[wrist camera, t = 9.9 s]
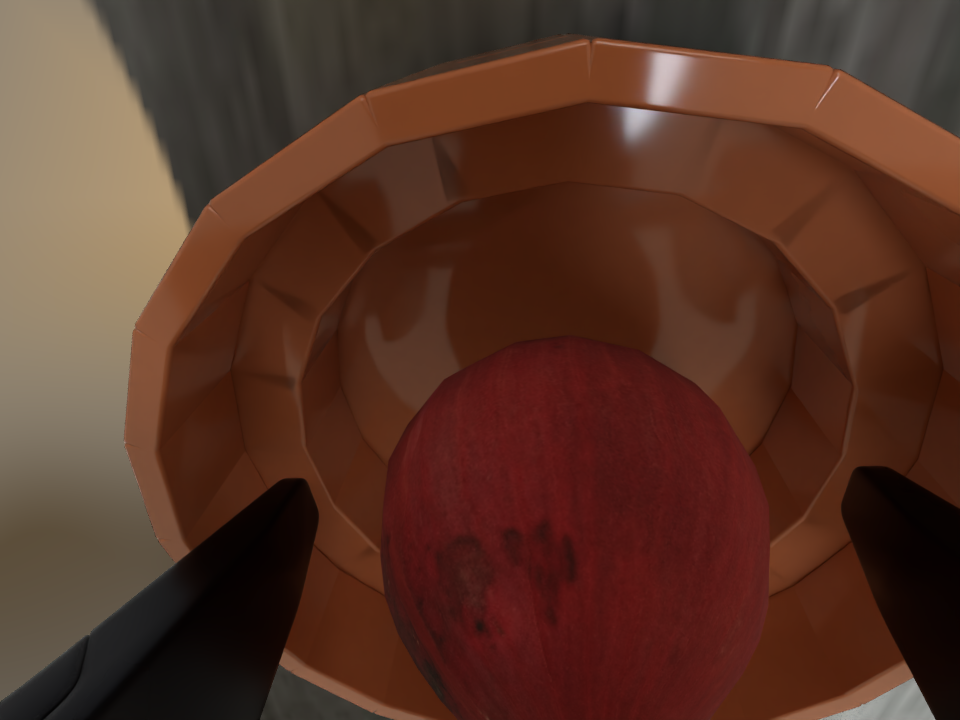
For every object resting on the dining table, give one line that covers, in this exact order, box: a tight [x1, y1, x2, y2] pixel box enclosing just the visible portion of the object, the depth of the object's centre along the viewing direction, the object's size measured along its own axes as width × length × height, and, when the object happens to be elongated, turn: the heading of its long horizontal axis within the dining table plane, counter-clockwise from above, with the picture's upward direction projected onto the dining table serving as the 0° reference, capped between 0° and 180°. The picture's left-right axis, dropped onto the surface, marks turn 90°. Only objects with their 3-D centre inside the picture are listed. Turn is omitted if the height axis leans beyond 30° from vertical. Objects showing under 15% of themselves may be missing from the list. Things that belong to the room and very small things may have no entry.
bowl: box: [124, 33, 960, 720], centre depth 10 cm, size 13×13×5 cm
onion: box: [380, 335, 770, 720], centre depth 8 cm, size 6×6×8 cm
